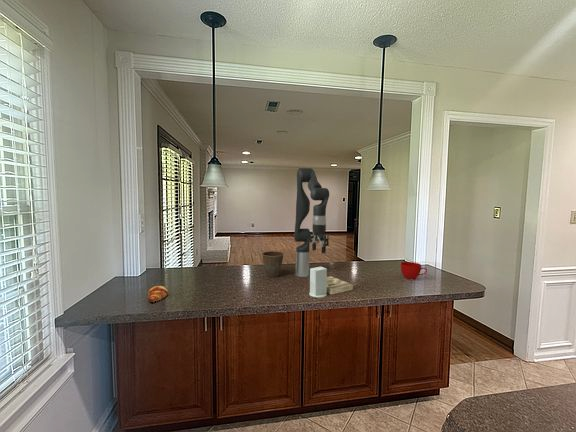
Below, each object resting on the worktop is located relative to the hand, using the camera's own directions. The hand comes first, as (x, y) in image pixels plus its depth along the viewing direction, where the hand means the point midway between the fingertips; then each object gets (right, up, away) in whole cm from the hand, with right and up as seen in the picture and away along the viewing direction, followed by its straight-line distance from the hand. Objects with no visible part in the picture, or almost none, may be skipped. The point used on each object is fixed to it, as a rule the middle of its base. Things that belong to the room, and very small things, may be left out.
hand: (318, 251), depth 167 cm
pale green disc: (0, -25, +2) cm, 25 cm away
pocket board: (+9, -24, +15) cm, 30 cm away
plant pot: (-28, -22, +38) cm, 52 cm away
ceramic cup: (+68, -23, +34) cm, 80 cm away
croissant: (-89, -25, -4) cm, 93 cm away
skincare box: (0, -25, +2) cm, 25 cm away
